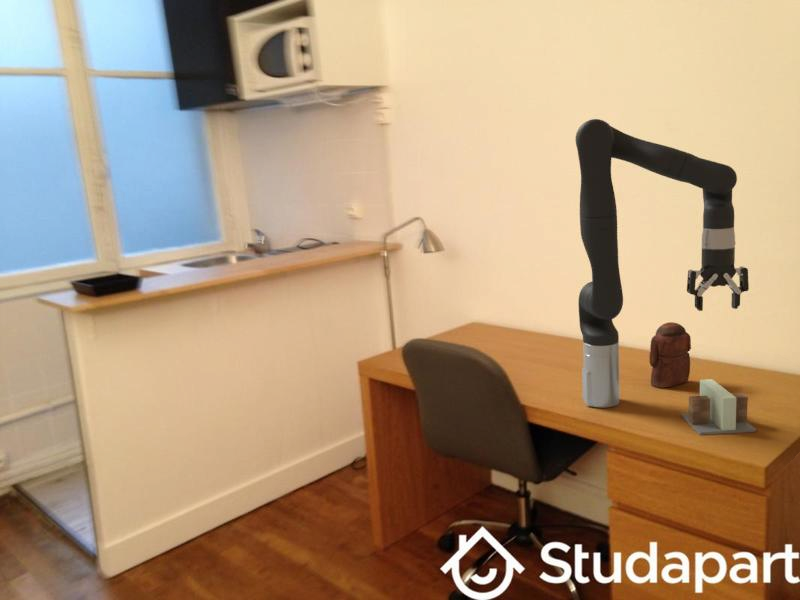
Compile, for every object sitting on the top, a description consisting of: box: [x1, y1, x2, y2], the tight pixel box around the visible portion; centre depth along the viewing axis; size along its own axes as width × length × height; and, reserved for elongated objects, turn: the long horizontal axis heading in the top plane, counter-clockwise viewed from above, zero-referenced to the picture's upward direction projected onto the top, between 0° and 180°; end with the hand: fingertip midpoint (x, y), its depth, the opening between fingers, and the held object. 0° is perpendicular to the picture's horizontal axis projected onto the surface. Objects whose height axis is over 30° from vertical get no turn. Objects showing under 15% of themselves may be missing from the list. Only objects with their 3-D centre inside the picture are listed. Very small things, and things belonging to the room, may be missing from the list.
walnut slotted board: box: [688, 393, 749, 425], centre depth 169 cm, size 13×2×6 cm, turn 87°
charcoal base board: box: [681, 413, 757, 436], centre depth 170 cm, size 13×12×1 cm
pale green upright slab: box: [699, 378, 736, 431], centre depth 170 cm, size 3×14×8 cm, turn 178°
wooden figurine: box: [649, 321, 692, 389], centre depth 198 cm, size 12×6×18 cm, turn 114°
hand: (717, 309), depth 175 cm, fingers open, 8 cm apart
